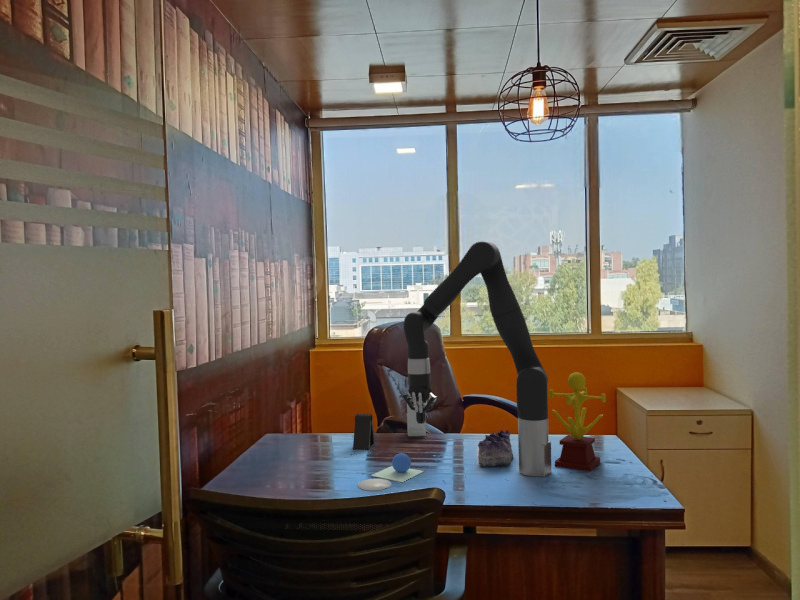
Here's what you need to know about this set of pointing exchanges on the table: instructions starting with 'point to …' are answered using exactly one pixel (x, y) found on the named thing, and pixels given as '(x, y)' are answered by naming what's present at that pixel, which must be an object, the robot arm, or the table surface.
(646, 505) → the table surface
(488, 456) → the geode
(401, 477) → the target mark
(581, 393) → the trophy
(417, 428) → the supplement box
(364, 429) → the phone stand
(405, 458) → the ball
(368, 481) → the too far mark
